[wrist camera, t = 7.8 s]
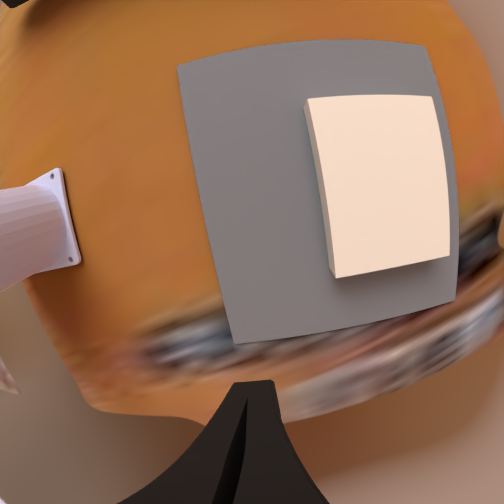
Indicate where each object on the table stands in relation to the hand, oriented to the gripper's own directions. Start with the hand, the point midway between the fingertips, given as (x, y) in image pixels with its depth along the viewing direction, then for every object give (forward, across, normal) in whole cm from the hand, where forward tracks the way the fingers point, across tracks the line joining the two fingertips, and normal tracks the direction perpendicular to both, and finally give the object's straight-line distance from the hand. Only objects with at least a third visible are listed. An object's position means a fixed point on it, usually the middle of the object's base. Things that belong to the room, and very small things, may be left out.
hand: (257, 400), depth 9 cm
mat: (+10, -6, -6) cm, 13 cm away
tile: (+9, -4, -6) cm, 11 cm away
